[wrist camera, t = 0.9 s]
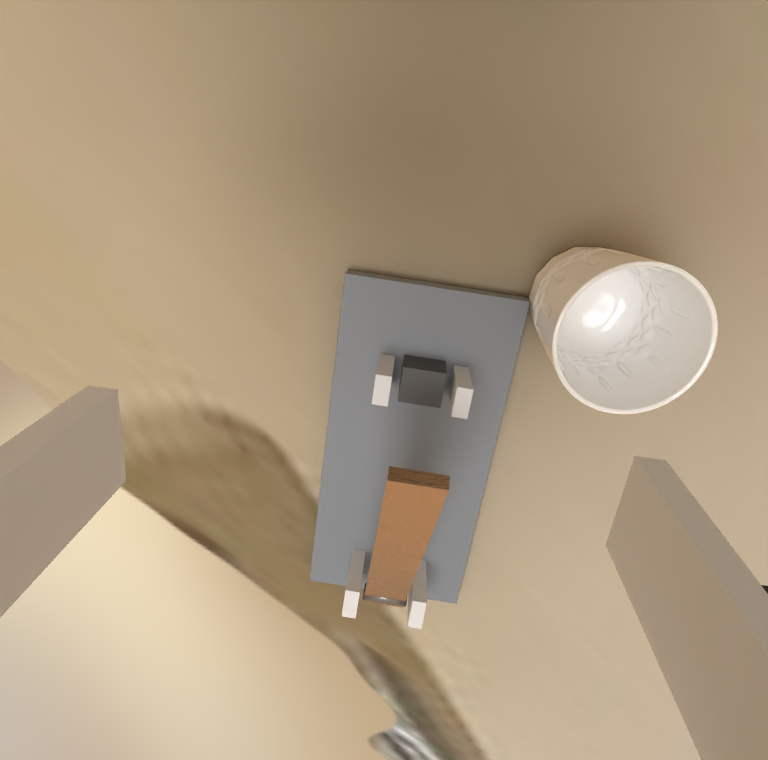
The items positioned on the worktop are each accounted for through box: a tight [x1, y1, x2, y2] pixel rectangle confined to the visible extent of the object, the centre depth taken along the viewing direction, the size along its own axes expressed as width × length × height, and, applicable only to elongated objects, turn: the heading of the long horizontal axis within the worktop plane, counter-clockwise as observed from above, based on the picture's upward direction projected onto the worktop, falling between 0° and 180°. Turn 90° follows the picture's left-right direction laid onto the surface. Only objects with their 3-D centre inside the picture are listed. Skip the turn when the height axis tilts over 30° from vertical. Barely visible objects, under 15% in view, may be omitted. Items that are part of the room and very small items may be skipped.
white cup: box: [529, 247, 718, 414], centre depth 32 cm, size 8×8×10 cm
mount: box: [310, 270, 530, 629], centre depth 38 cm, size 25×12×6 cm, turn 172°
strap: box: [362, 466, 450, 607], centre depth 34 cm, size 19×3×1 cm
